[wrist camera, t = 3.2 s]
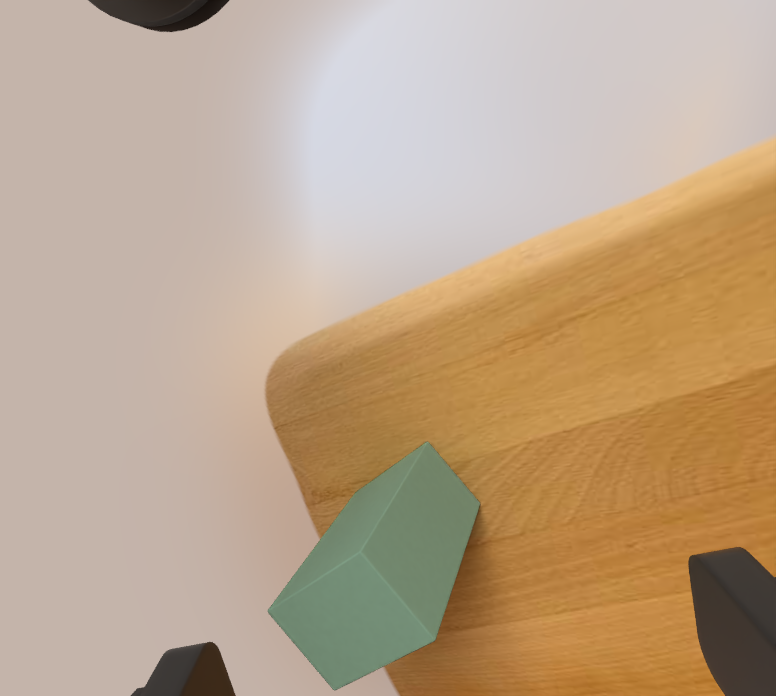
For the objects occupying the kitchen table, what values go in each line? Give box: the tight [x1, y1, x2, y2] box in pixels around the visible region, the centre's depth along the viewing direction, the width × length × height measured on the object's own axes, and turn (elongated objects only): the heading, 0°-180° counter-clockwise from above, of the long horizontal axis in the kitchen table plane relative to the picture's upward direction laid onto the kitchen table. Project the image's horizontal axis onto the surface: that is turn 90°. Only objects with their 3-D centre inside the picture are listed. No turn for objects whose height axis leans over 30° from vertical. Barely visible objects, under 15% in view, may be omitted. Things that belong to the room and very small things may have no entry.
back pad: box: [268, 442, 480, 690], centre depth 27 cm, size 4×6×10 cm
